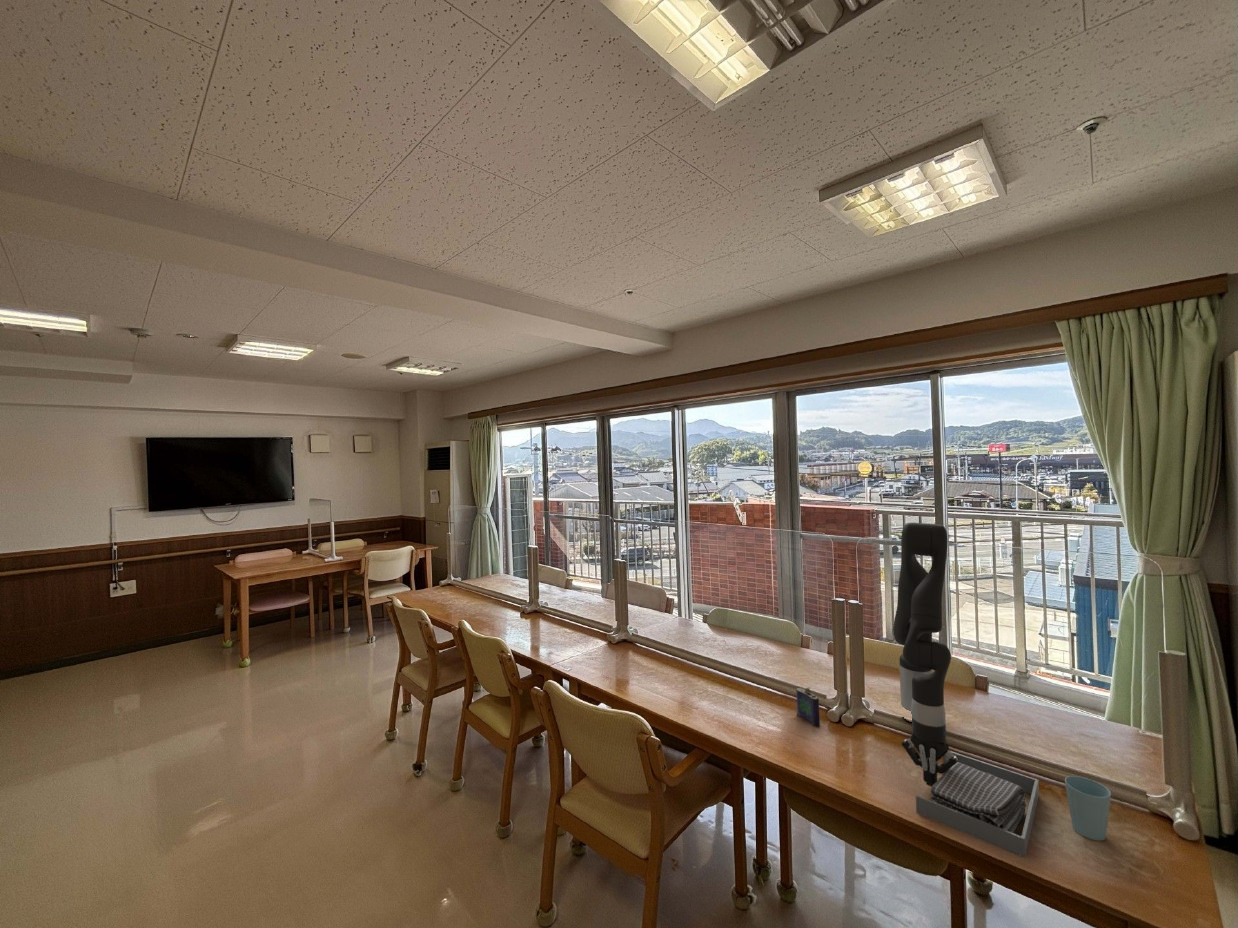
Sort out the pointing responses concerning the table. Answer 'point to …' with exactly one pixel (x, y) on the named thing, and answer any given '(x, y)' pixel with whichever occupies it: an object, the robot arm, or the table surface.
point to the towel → (981, 796)
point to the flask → (808, 706)
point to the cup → (1088, 806)
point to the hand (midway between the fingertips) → (930, 784)
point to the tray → (982, 828)
